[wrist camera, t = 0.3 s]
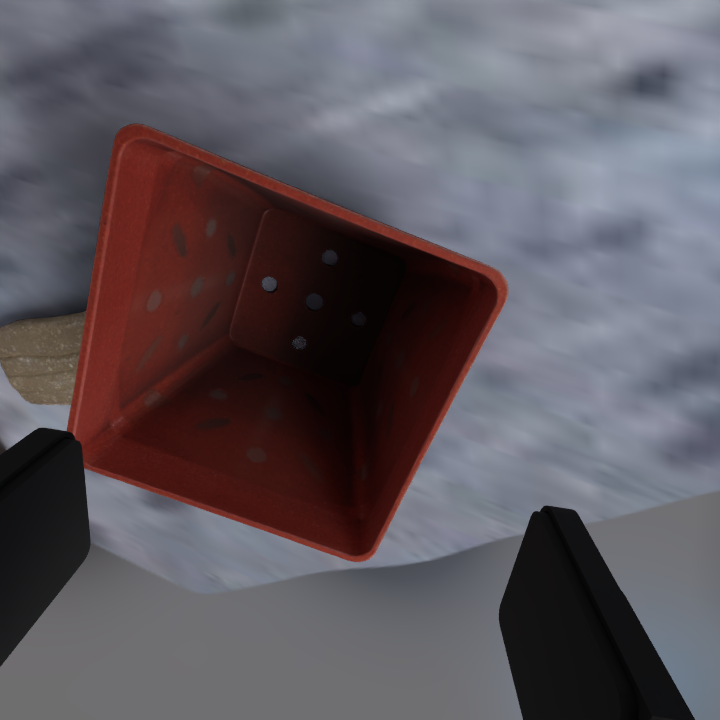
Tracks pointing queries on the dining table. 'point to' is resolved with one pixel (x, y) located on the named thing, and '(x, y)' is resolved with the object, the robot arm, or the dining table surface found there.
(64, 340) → the decorative stone
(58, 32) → the dining table surface
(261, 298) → the plant pot
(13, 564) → the robot arm
